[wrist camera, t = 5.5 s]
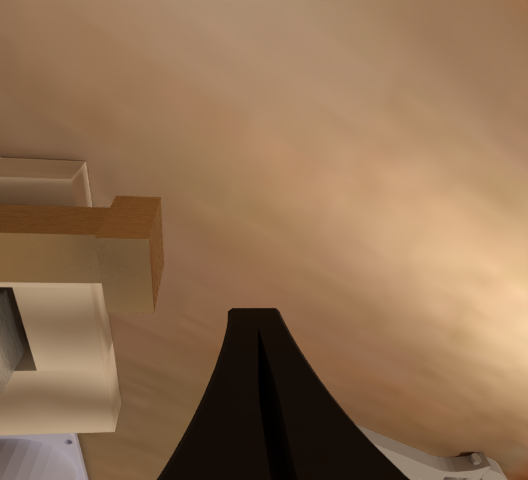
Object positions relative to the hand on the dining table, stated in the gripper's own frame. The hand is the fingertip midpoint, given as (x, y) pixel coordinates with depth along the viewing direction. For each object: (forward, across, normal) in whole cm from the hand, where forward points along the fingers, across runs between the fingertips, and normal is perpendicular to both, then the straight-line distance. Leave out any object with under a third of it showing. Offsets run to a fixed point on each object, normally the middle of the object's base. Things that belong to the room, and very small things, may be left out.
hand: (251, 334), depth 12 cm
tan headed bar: (+6, +8, 0) cm, 10 cm away
